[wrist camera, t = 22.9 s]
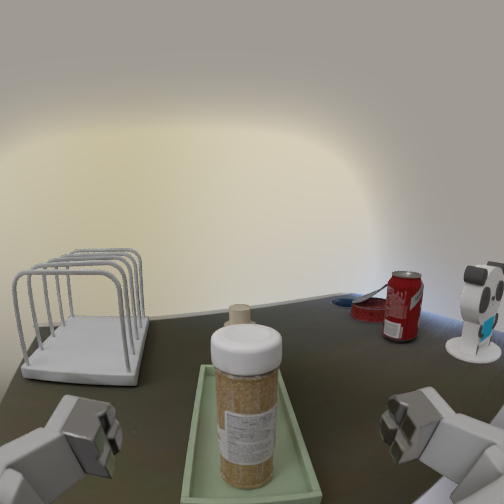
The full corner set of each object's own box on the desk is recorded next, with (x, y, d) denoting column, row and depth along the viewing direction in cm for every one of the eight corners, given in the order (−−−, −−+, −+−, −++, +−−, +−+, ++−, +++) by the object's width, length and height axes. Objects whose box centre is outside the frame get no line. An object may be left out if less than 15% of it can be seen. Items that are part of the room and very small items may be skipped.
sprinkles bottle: (226, 453, 23) (220, 319, 22) (277, 458, 22) (284, 323, 21) (213, 487, 19) (200, 344, 17) (271, 494, 18) (279, 350, 16)
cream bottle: (230, 407, 31) (228, 316, 30) (214, 386, 36) (210, 304, 34) (269, 396, 33) (271, 309, 32) (249, 378, 38) (249, 299, 37)
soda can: (396, 347, 46) (405, 278, 45) (374, 334, 53) (381, 271, 51) (423, 340, 48) (432, 275, 46) (400, 329, 54) (407, 269, 53)
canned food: (369, 343, 59) (356, 307, 57) (349, 323, 69) (336, 290, 66) (410, 315, 60) (401, 278, 57) (387, 300, 69) (376, 265, 67)
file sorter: (137, 388, 34) (123, 268, 33) (23, 380, 30) (1, 270, 28) (149, 324, 59) (144, 247, 57) (71, 323, 54) (63, 249, 53)
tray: (319, 508, 16) (323, 495, 16) (183, 515, 16) (180, 502, 16) (276, 375, 39) (277, 363, 39) (201, 377, 39) (200, 364, 38)
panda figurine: (484, 371, 33) (504, 272, 31) (431, 350, 43) (444, 262, 41) (508, 349, 37) (524, 266, 36) (463, 333, 48) (474, 258, 46)
